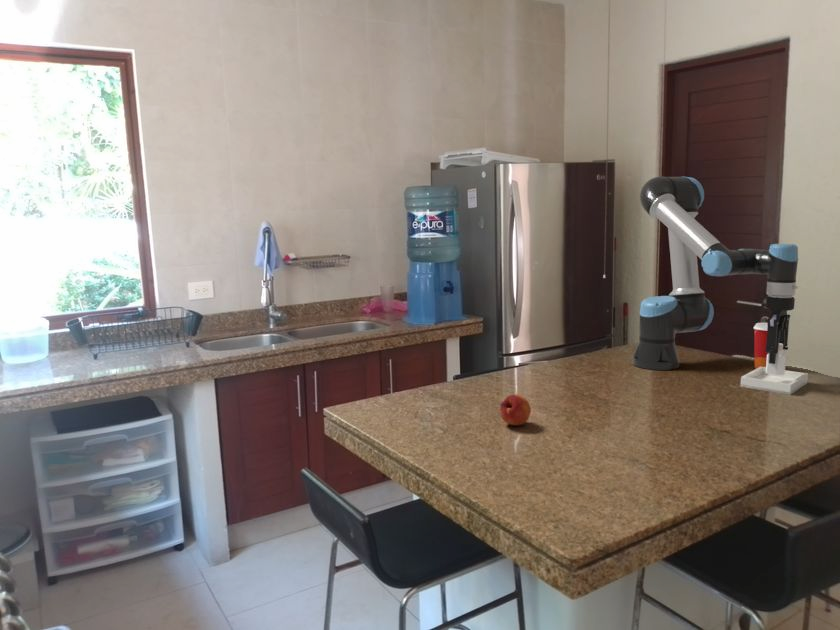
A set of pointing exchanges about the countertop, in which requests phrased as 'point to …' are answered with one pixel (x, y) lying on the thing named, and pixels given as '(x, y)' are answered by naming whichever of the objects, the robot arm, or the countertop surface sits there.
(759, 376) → the bin
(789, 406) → the countertop surface
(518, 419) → the fruit
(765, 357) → the coffee cup
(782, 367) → the salt shaker
